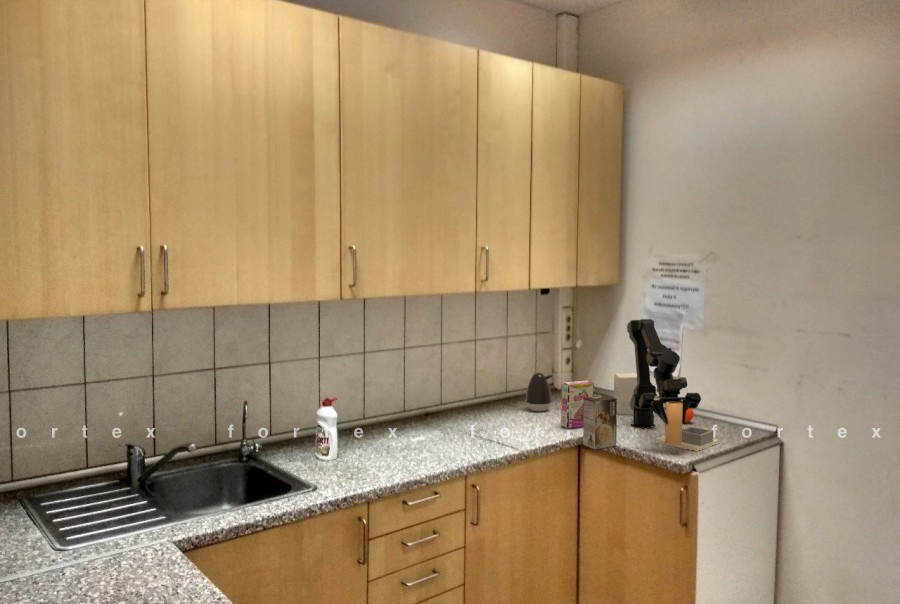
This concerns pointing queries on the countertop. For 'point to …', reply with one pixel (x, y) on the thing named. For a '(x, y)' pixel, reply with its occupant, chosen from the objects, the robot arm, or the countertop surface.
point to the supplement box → (624, 391)
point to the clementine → (689, 415)
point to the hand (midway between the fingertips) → (675, 423)
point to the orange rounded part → (674, 423)
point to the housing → (693, 439)
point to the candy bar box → (574, 403)
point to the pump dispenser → (538, 393)
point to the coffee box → (600, 421)
